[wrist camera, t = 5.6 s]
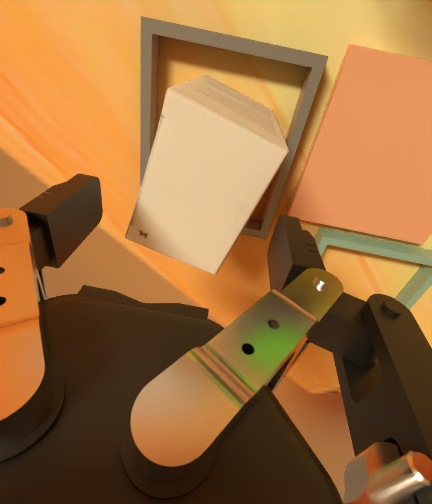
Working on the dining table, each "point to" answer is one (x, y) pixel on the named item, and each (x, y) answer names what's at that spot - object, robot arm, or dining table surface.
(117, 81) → the dining table surface
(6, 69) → the dining table surface
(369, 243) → the green rectangular frame
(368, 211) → the terracotta tile
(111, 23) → the dining table surface
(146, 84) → the grey rectangular frame
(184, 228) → the small box
